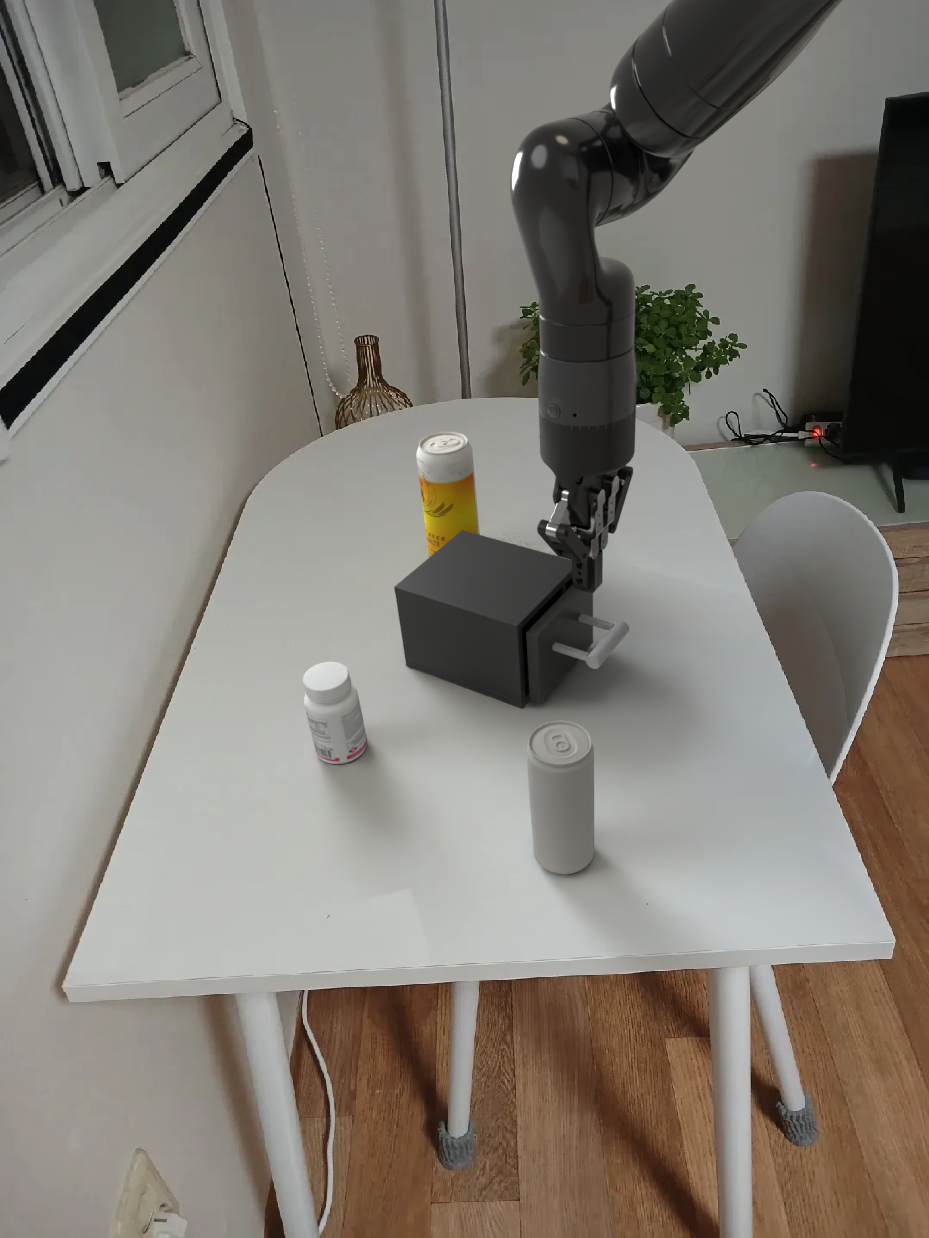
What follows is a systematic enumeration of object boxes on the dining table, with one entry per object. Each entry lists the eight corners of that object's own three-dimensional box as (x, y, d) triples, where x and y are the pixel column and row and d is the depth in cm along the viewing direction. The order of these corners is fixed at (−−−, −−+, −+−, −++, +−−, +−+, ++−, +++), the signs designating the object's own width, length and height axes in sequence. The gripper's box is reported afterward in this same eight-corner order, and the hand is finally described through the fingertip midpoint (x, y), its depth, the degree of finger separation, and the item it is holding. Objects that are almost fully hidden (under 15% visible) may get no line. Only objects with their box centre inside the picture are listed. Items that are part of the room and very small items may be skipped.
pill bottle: (363, 724, 89) (349, 653, 84) (372, 758, 85) (358, 686, 80) (312, 736, 88) (295, 665, 83) (319, 771, 84) (301, 698, 79)
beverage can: (544, 885, 72) (538, 772, 65) (524, 839, 76) (517, 727, 69) (604, 868, 73) (604, 755, 66) (581, 823, 77) (579, 712, 70)
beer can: (423, 553, 113) (409, 436, 104) (472, 541, 114) (462, 425, 105) (437, 579, 108) (423, 459, 99) (488, 567, 109) (478, 447, 100)
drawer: (638, 657, 92) (640, 590, 88) (588, 720, 85) (587, 652, 81) (487, 609, 101) (482, 546, 96) (430, 663, 94) (422, 599, 89)
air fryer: (581, 641, 96) (580, 561, 91) (522, 708, 89) (516, 626, 83) (469, 606, 103) (462, 529, 97) (405, 665, 96) (393, 586, 90)
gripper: (590, 445, 68) (590, 639, 78) (667, 378, 76) (658, 561, 86) (500, 427, 71) (512, 614, 81) (584, 365, 80) (585, 541, 90)
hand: (587, 586), depth 84 cm, fingers closed
